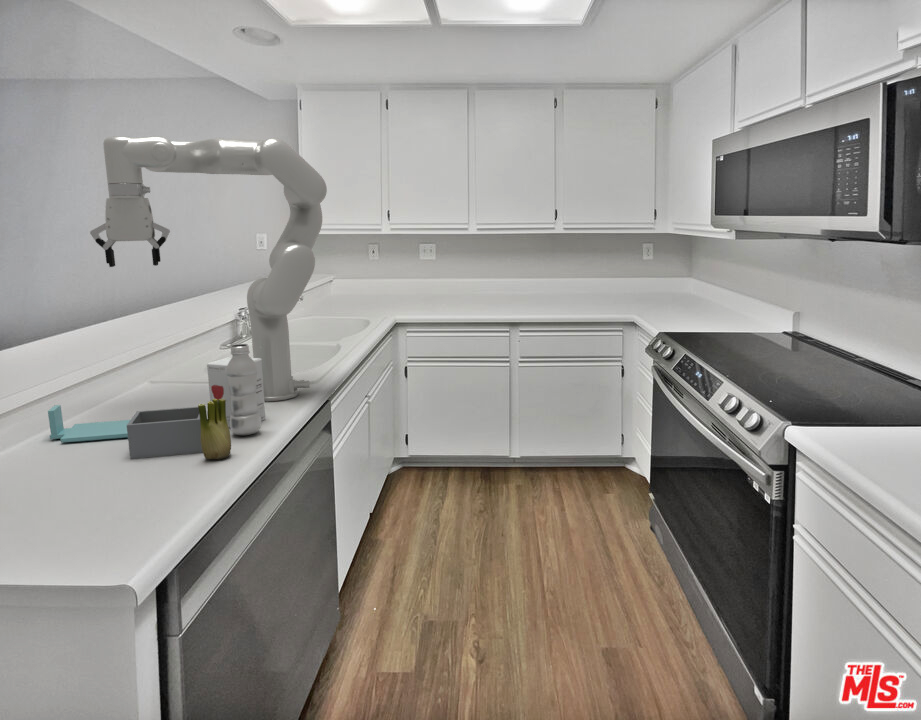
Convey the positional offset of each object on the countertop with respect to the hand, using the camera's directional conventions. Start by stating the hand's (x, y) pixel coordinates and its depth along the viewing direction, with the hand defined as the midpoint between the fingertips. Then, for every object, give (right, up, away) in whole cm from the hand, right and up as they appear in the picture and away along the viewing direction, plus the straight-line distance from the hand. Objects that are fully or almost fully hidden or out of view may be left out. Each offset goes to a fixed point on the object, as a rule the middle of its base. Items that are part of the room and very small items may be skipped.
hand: (134, 265), depth 172 cm
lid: (-4, -39, -10) cm, 41 cm away
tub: (+17, -41, -20) cm, 49 cm away
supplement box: (+26, -37, -3) cm, 46 cm away
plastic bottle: (+30, -39, -12) cm, 51 cm away
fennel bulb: (+29, -42, -27) cm, 58 cm away
